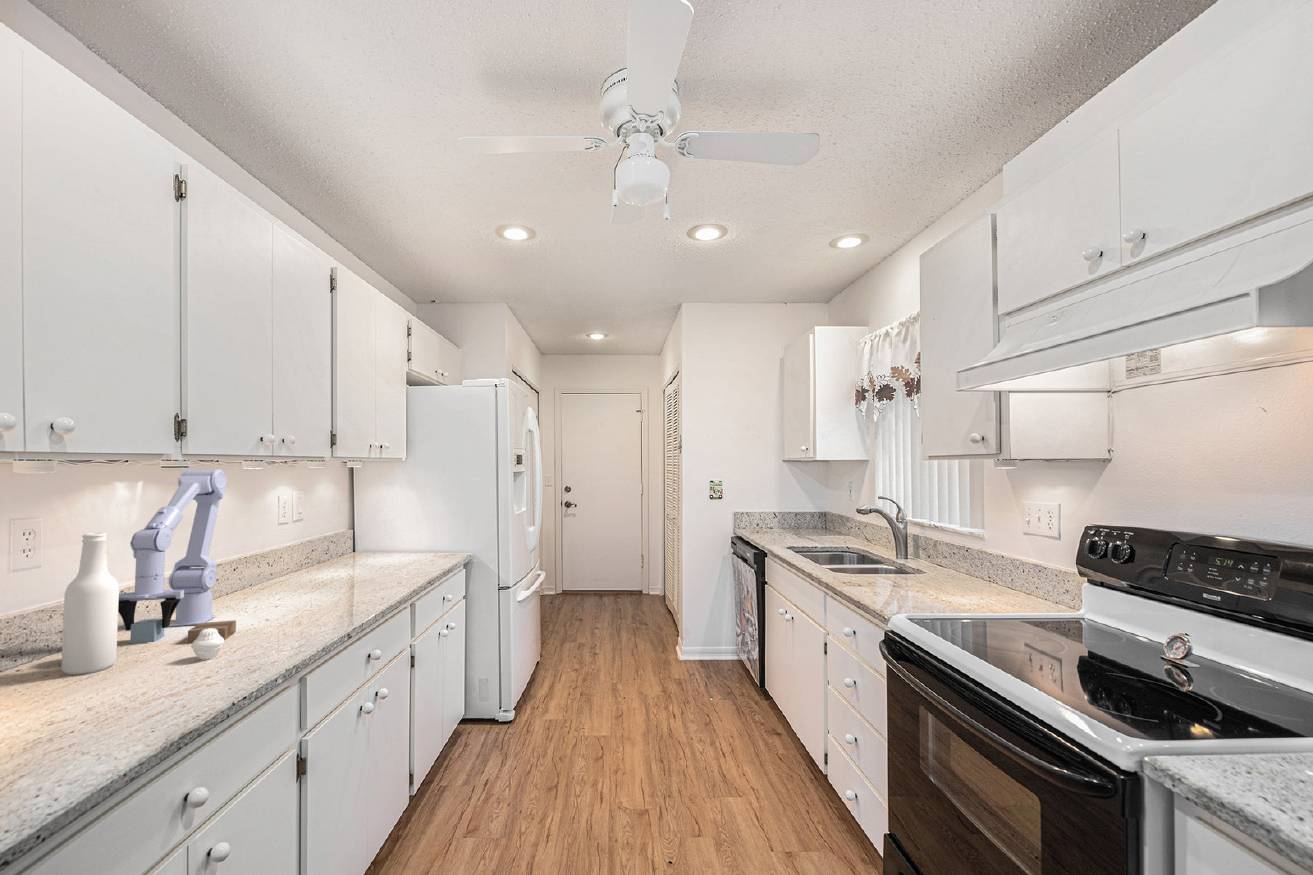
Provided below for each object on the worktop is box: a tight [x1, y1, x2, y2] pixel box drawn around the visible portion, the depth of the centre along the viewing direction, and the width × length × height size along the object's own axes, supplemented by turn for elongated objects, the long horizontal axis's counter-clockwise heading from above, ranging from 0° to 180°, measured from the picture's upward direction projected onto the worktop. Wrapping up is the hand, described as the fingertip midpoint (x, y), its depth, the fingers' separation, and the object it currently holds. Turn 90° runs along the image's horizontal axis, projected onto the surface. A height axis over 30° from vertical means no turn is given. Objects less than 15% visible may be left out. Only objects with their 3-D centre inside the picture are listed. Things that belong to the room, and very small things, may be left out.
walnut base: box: [187, 619, 237, 644], centre depth 155 cm, size 8×8×4 cm
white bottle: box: [60, 532, 120, 676], centre depth 131 cm, size 9×9×30 cm
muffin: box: [191, 628, 225, 661], centre depth 138 cm, size 6×6×7 cm
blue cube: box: [129, 617, 165, 645], centre depth 152 cm, size 5×5×5 cm
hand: (147, 628), depth 152 cm, fingers open, 7 cm apart
